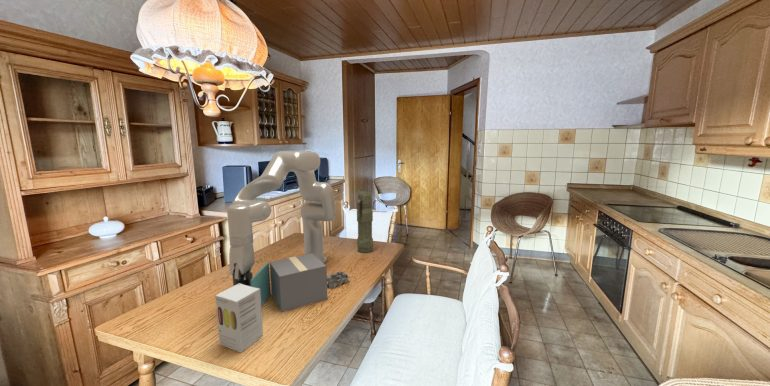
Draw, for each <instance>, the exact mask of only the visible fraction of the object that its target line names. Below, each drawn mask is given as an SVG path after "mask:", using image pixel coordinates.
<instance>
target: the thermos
mask: <svg viewBox="0 0 770 386" xmlns="http://www.w3.org/2000/svg"><path fill="white" fill-rule="evenodd" d="M373 212H374V211H373V198H372V193H371V190H370V189H365V188H363V189H360V190H358V194H357V201H356V222H357V239H356V244H357V245H356V246H357V252H358V253H361V254H368V253H369V254H370V253H372V252H373V251H374V250H373V249H374V248H373V247H374V238H373V220H374V218H373V217H374V216H373Z"/></svg>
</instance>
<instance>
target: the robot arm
mask: <svg viewBox="0 0 770 386" xmlns="http://www.w3.org/2000/svg"><path fill="white" fill-rule="evenodd" d="M320 166H321V157H320V155H319V154H318V153H317V152H315V151H297V150H296V151H295V150H294V151H293V150H280V151H277V152H275V153H274V154H273V156H272V158H271V159H270V160H269V162H268V164H267V166H266V167H265V169H264V170H263V172H262V174H261V175H260V176H258V177H257V178H255V179H253V180H252V181H250V182H249V183H247V184H246V185H245V186H244V187H242V188H241V189H240V190H239V192H238V193H237V195H236V196H235V198H234V199H233V201H232V204H231V205H229V206H228V207H227V209H226V214H227V225H228V226H227V227H228V236H229V237H228V238H229V246H230V247H229V253H228V255H229V256H228V259H229V260H228V261H229V264H228V265H229V273H230V275H232V274H234V273H235V279H238V280H239V283H240V284H243V285H247V286H249V283H248V279H247V274H246V272H252V268H253V266H254V265H255V262H256V261H255V259H256V258H255V250H254V232H253V223H258V222H263V221H265V220H267V219H269V217H270V216H271V215H272V206H271V205H270V203H268V202H267V201H265V200H258V199H257V198H259V197H260V196H262V195H264V194H268V193H271V192H274V191H276V190H278V189H280V188H281V187H282V185H283V183H284V181H285V179H286V178H287V176H288V174H289V173H290V172H293V173H294V174H295V176H296V179H297V184H298V189H299V193H300V194H299V195H300V197H301V199H302V200H303V201H305V202H303V203H302V205H301V207H300V215H301V219H302V224H303V225H302V226H303V227H302V229H303V244H304V245H303V246H304V247H303V248H304V255H307V254H312V253H313V254H314V255H315V256H316V257H317V258H318V259H319V260H320V261H321V262H323V263H324V264H325V263H326V262H327V261H328V260H327V259H328V258H327V257H326V256H325V254H324V234H323V233H324V232H323V231H324V229H323V225H322V223H321V222H327V223H329V222H333V220H335V218H336V212H337V211H336V204H335V203H336V202H335V196H334V190H333V187H332V185H331V184H330V183H328V182H325V181H323V182H322V181H321V182H320V181H317V179H316V178H317V177H316V174H315V171H316V170H318V169H319V168H320ZM255 199H256V200H255ZM240 274H243V275H240Z"/></svg>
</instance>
